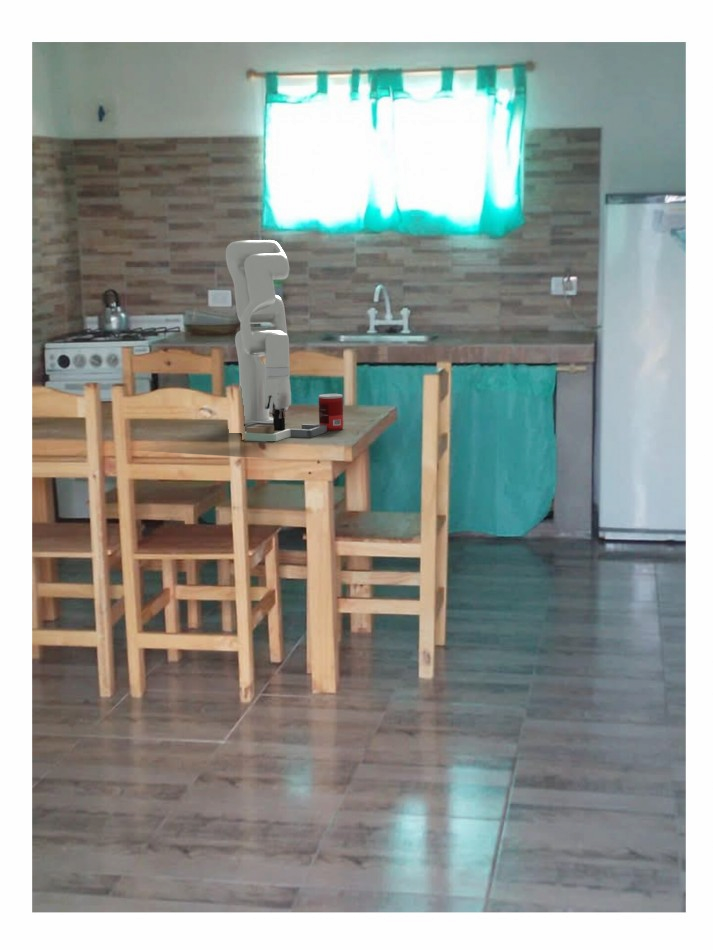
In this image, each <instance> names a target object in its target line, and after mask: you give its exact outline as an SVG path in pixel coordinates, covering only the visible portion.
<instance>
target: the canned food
mask: <svg viewBox="0 0 713 950" xmlns="http://www.w3.org/2000/svg"><path fill="white" fill-rule="evenodd" d="M343 398H344V396H343V394H341V393H325V394H324V393H323V394H319V395H318V420H319V421H318V425H327V432H334V431H340V430H343V429H344V399H343Z"/></svg>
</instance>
